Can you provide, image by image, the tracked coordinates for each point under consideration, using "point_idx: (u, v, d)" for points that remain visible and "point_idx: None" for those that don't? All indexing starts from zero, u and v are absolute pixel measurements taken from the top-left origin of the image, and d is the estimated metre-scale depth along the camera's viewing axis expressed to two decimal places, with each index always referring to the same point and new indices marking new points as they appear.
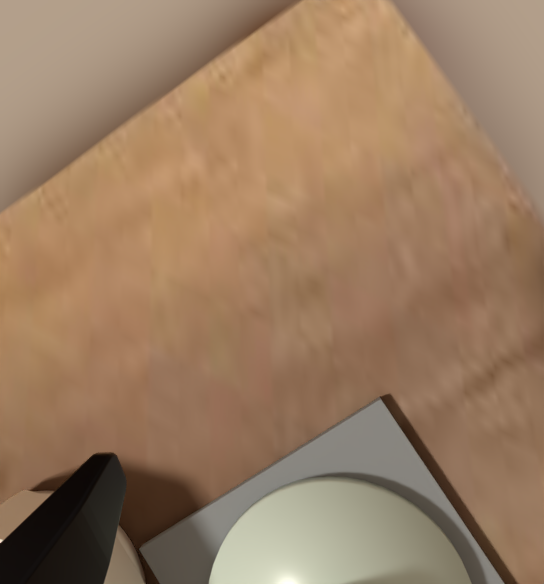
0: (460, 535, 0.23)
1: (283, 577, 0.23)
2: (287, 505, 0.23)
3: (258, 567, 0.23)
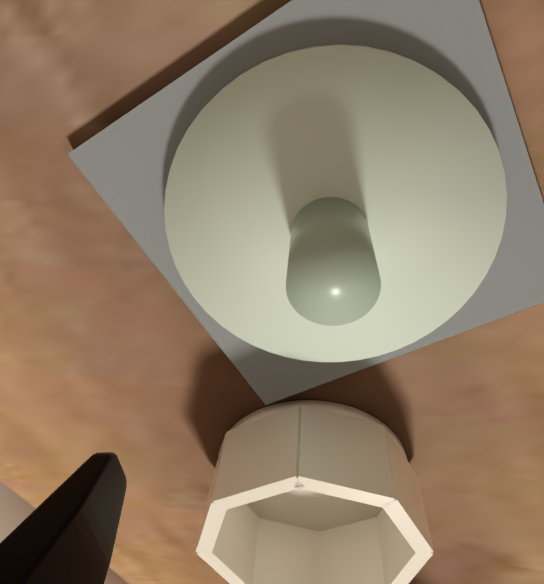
0: (232, 58, 0.16)
1: (281, 287, 0.20)
2: (198, 276, 0.20)
3: (270, 310, 0.20)
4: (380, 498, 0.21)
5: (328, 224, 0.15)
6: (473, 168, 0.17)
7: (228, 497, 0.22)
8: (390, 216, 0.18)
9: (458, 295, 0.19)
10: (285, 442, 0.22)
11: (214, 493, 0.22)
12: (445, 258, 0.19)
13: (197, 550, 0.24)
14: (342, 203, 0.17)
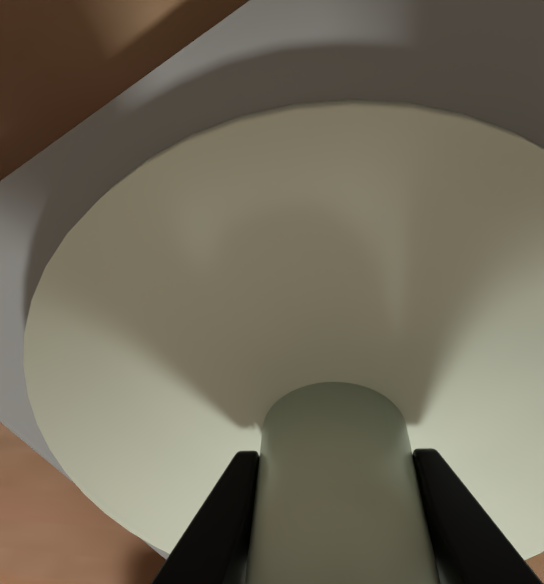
0: (126, 128, 0.08)
1: None
2: (104, 485, 0.11)
3: None
4: None
5: (332, 496, 0.07)
6: None
7: None
8: (450, 414, 0.09)
9: None
10: None
11: None
12: None
13: None
14: (359, 403, 0.09)
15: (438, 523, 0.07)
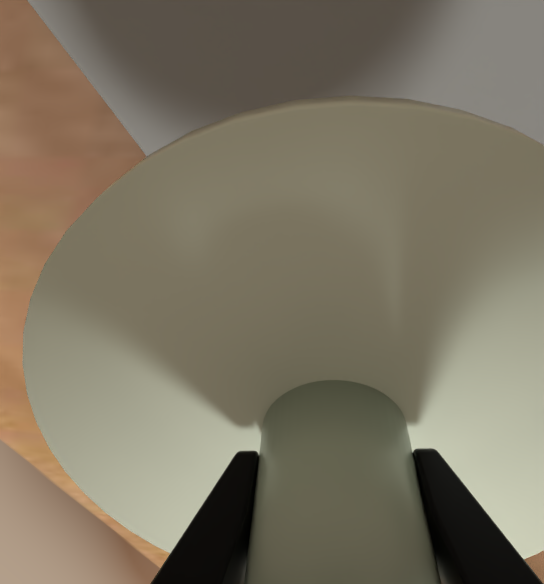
0: None
1: None
2: (104, 484, 0.11)
3: None
4: None
5: (332, 494, 0.07)
6: None
7: None
8: (450, 411, 0.09)
9: None
10: None
11: None
12: None
13: None
14: (359, 401, 0.09)
15: (438, 523, 0.07)
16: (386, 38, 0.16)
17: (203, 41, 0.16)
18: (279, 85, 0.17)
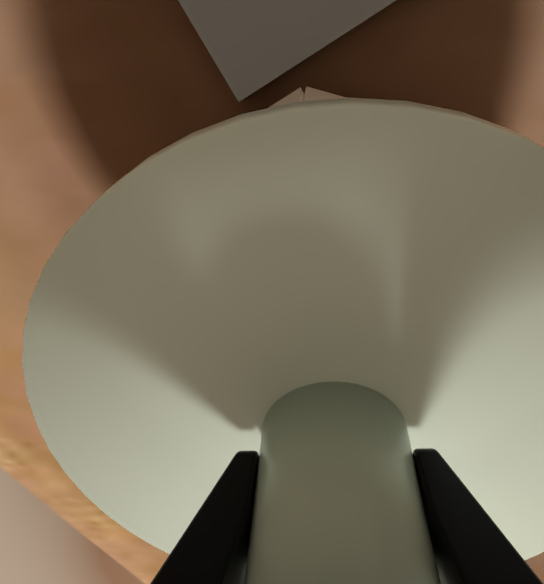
0: None
1: None
2: (104, 485, 0.11)
3: None
4: None
5: (332, 496, 0.07)
6: None
7: None
8: (449, 413, 0.09)
9: None
10: None
11: None
12: None
13: None
14: (359, 402, 0.09)
15: (438, 523, 0.07)
16: None
17: None
18: None
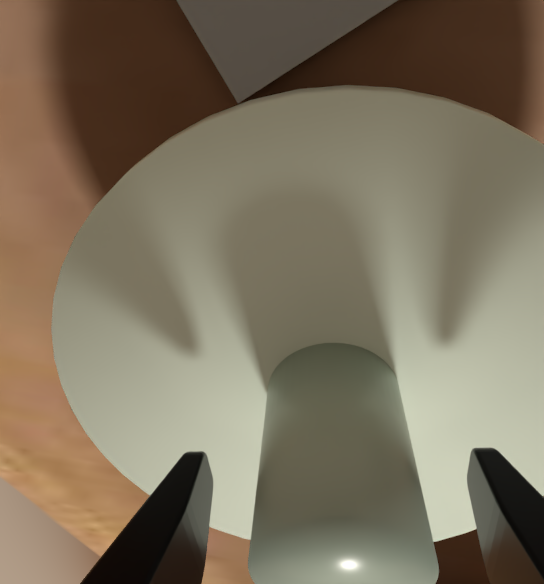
0: None
1: (256, 462, 0.12)
2: (122, 445, 0.12)
3: (241, 489, 0.13)
4: None
5: (331, 434, 0.08)
6: None
7: None
8: (437, 372, 0.10)
9: (543, 478, 0.12)
10: None
11: None
12: (527, 431, 0.11)
13: None
14: (355, 360, 0.10)
15: (511, 523, 0.07)
16: None
17: None
18: None
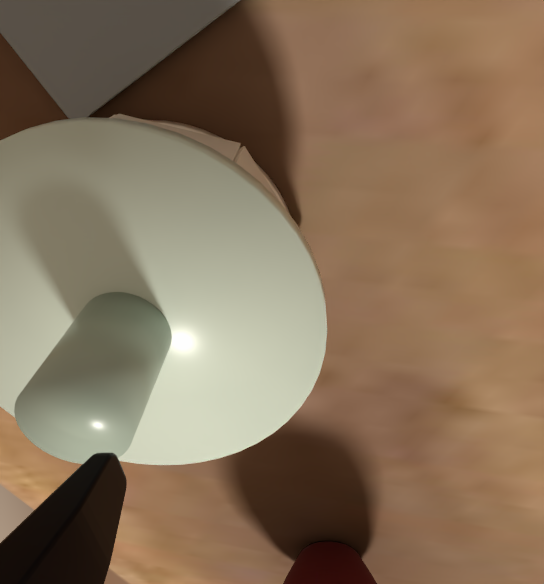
0: None
1: None
2: None
3: None
4: None
5: (77, 341, 0.12)
6: (272, 257, 0.14)
7: None
8: (191, 312, 0.15)
9: (294, 394, 0.16)
10: None
11: None
12: (268, 356, 0.15)
13: None
14: (123, 301, 0.14)
15: None
16: None
17: None
18: None
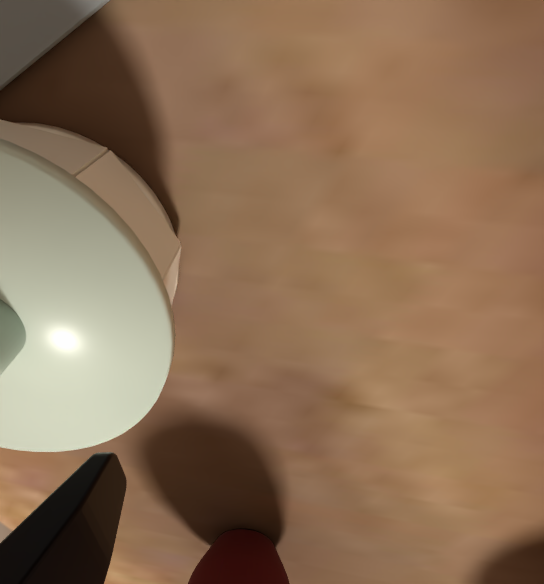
0: None
1: None
2: None
3: None
4: None
5: None
6: (104, 259, 0.14)
7: None
8: (39, 308, 0.16)
9: (148, 387, 0.17)
10: None
11: None
12: (117, 351, 0.16)
13: None
14: None
15: None
16: None
17: None
18: None
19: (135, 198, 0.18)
